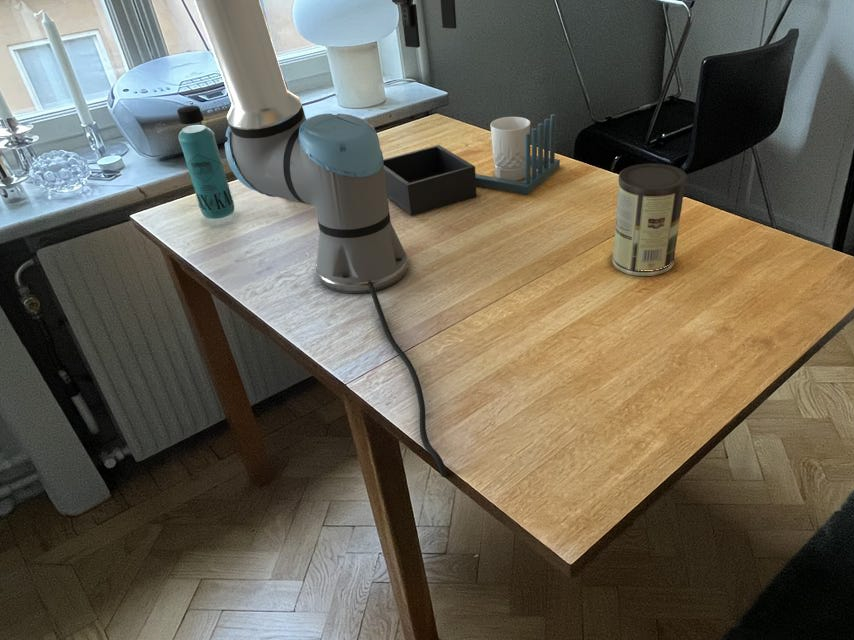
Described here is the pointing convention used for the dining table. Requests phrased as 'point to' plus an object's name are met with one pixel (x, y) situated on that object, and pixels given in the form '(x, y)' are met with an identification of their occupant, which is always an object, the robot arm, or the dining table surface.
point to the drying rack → (530, 162)
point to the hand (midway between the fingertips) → (431, 37)
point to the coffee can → (648, 218)
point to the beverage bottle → (204, 165)
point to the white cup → (509, 147)
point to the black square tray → (428, 179)
